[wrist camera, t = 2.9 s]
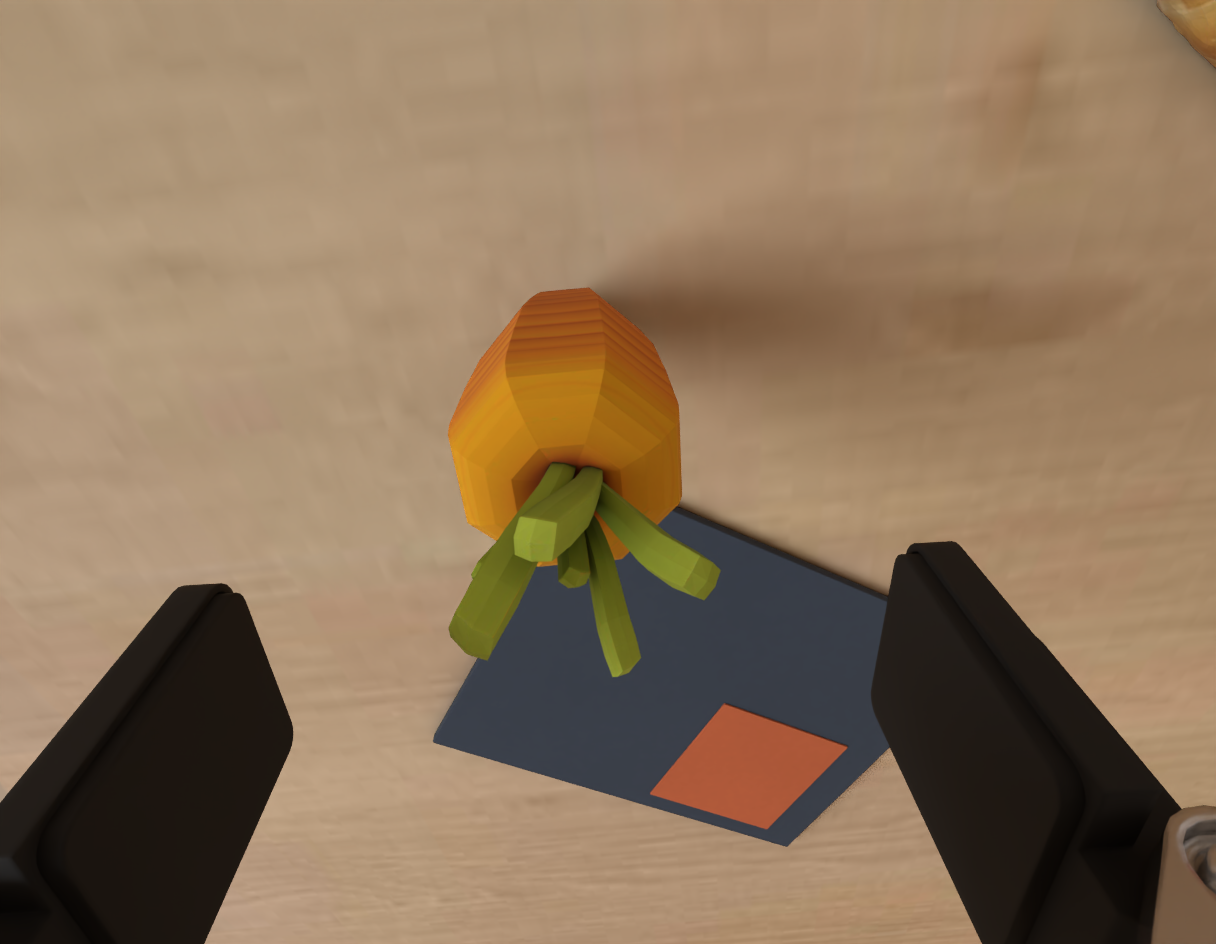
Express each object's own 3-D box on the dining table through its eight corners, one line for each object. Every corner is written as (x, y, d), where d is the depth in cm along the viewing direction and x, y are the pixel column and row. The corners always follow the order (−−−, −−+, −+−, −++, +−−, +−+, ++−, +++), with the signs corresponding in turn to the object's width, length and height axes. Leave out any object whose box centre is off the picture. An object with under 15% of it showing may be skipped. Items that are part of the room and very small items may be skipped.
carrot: (668, 262, 22) (798, 529, 9) (619, 400, 24) (669, 767, 11) (516, 214, 21) (422, 433, 8) (480, 360, 24) (363, 713, 11)
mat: (434, 734, 33) (431, 744, 32) (585, 466, 26) (586, 475, 25) (784, 838, 38) (787, 849, 37) (988, 638, 31) (994, 648, 30)
